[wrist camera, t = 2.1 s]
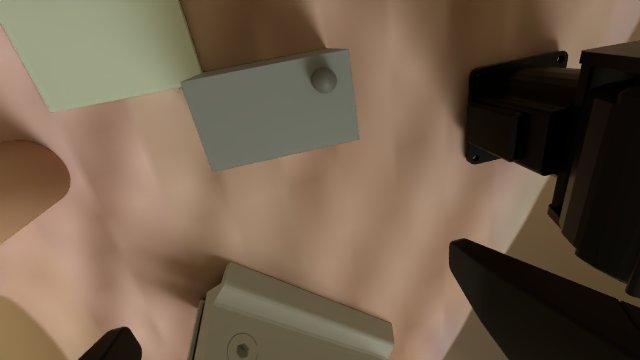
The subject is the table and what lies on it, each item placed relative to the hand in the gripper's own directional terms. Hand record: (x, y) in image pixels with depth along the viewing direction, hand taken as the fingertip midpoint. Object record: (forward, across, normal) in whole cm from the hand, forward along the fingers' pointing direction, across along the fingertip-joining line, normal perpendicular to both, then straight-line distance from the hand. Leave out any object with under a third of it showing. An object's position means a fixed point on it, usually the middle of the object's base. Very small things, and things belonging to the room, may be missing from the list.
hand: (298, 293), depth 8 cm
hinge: (+12, +2, +16) cm, 20 cm away
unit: (+12, 0, -4) cm, 13 cm away
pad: (+12, +7, -9) cm, 17 cm away
